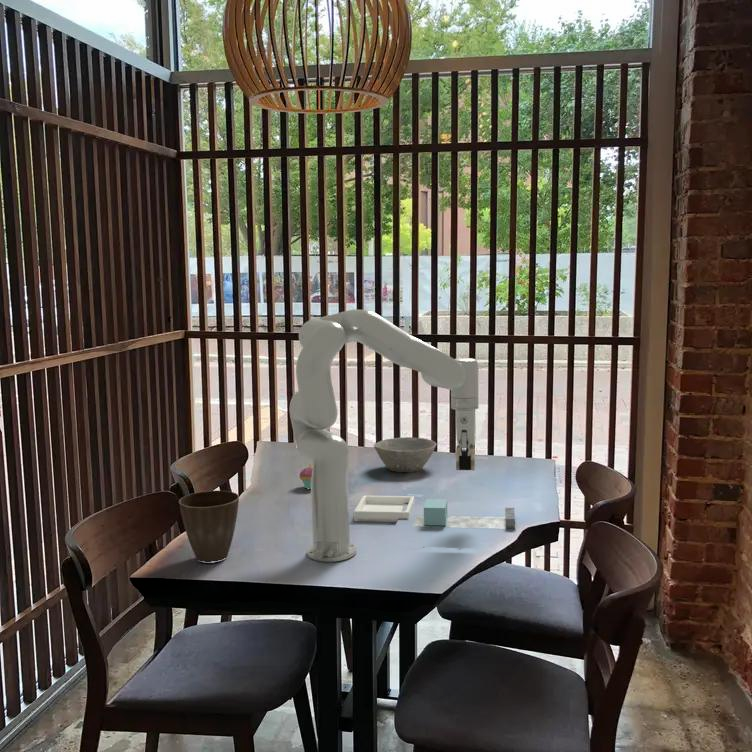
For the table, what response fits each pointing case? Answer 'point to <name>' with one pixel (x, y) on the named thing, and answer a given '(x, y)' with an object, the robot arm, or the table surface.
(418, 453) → the ceramic bowl
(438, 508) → the teal block
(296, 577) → the table surface
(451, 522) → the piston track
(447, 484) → the table surface
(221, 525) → the plant pot
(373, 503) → the tray
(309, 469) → the cupcake
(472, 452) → the wooden block
